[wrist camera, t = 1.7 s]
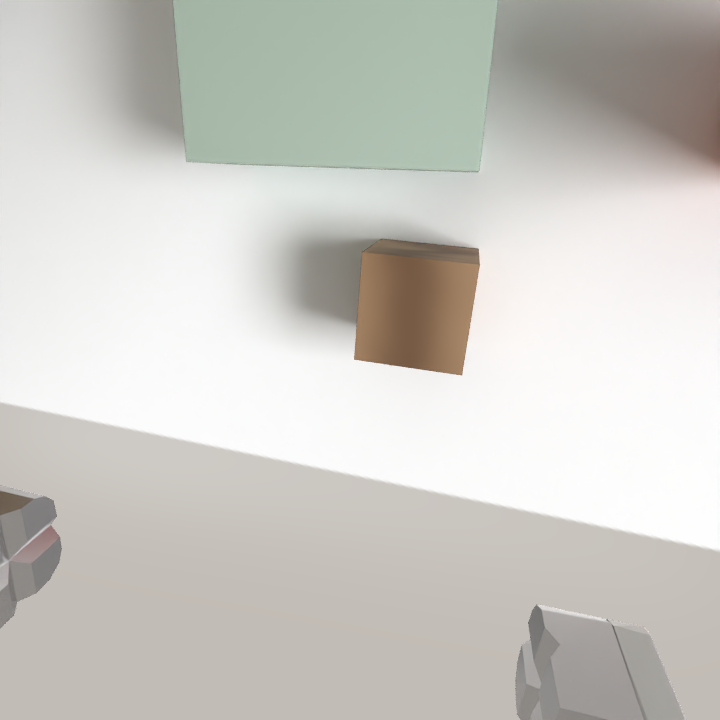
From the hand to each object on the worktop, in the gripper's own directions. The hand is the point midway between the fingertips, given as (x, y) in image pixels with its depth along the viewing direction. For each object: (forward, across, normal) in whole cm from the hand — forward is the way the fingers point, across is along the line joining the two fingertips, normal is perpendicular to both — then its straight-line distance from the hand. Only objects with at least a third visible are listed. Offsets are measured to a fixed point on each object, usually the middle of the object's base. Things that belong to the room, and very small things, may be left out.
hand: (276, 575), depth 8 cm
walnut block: (+26, -1, +1) cm, 26 cm away
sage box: (+26, +5, -13) cm, 29 cm away
